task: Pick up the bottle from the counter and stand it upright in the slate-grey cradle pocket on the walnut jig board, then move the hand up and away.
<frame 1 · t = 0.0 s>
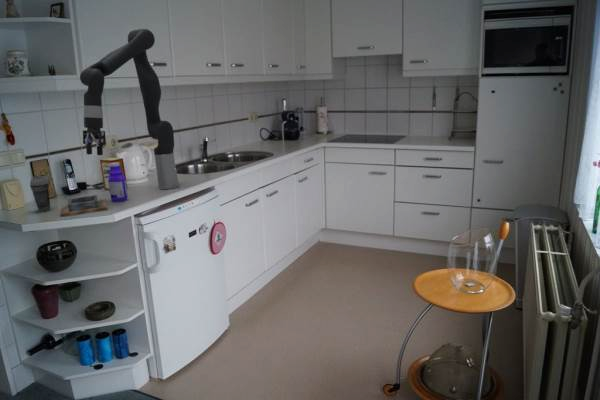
hand: (94, 154, 207), 22 cm above the counter, tool pointing down, fingers open, 8 cm apart
beverage cup: (44, 210, 209), on the counter
bottle: (120, 201, 219), on the counter
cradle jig: (84, 209, 207), on the counter
baking soda box: (116, 189, 244), on the counter
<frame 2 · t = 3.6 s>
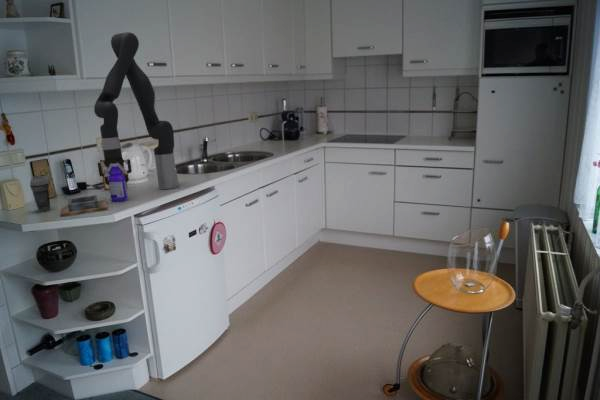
hand: (117, 183, 217), 8 cm above the counter, tool pointing down, fingers closed on bottle, 7 cm apart
bottle: (120, 201, 219), on the counter, touching gripper
everything else where it was.
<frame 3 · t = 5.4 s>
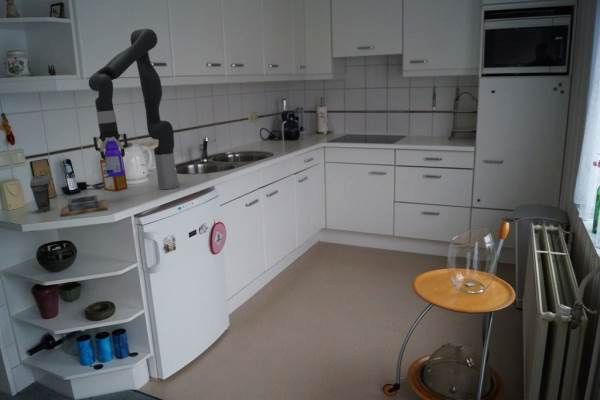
hand: (113, 158, 214), 19 cm above the counter, tool pointing down, fingers closed on bottle, 7 cm apart
bottle: (116, 176, 216), point 11 cm above the counter, touching gripper
everything else where it was.
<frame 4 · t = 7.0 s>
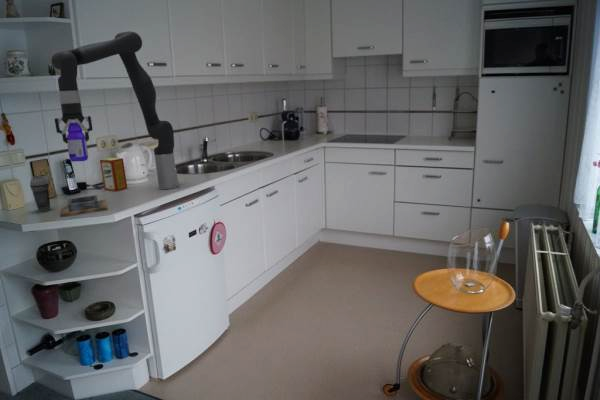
hand: (76, 142, 201), 29 cm above the counter, tool pointing down, fingers closed on bottle, 7 cm apart
bottle: (79, 161, 203), point 21 cm above the counter, touching gripper
everything else where it was.
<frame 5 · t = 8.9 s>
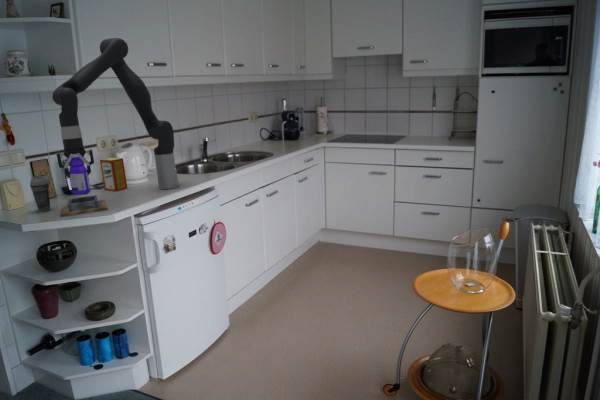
hand: (78, 175, 203), 15 cm above the counter, tool pointing down, fingers closed on bottle, 7 cm apart
bottle: (82, 194, 205), point 7 cm above the counter, touching gripper
everything else where it was.
when the fingers open (10 cm above the counter, at t = 10.5 s): bottle drops 1 cm, resting on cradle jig.
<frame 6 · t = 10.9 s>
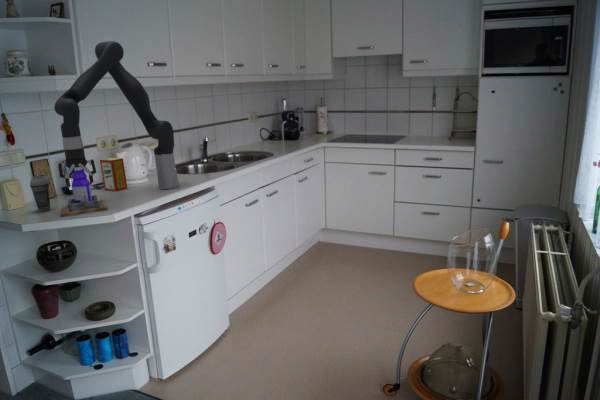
hand: (80, 185, 204), 11 cm above the counter, tool pointing down, fingers open, 8 cm apart
bottle: (84, 206, 207), point 1 cm above the counter, touching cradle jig
everything else where it was.
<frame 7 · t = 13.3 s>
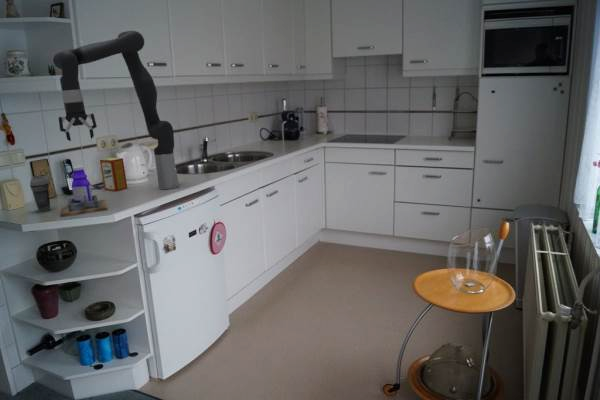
hand: (80, 139, 205), 29 cm above the counter, tool pointing down, fingers open, 8 cm apart
nothing on the counter moved.
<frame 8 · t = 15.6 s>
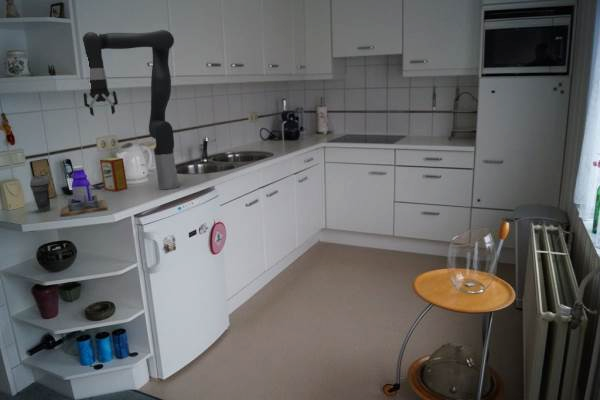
hand: (103, 115, 222), 38 cm above the counter, tool pointing down, fingers open, 8 cm apart
nothing on the counter moved.
at the end: bottle 0.2 cm off-centre on the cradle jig, point 1.0 cm above the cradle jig's base; bottle tilted 0°; the gripper is holding nothing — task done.
